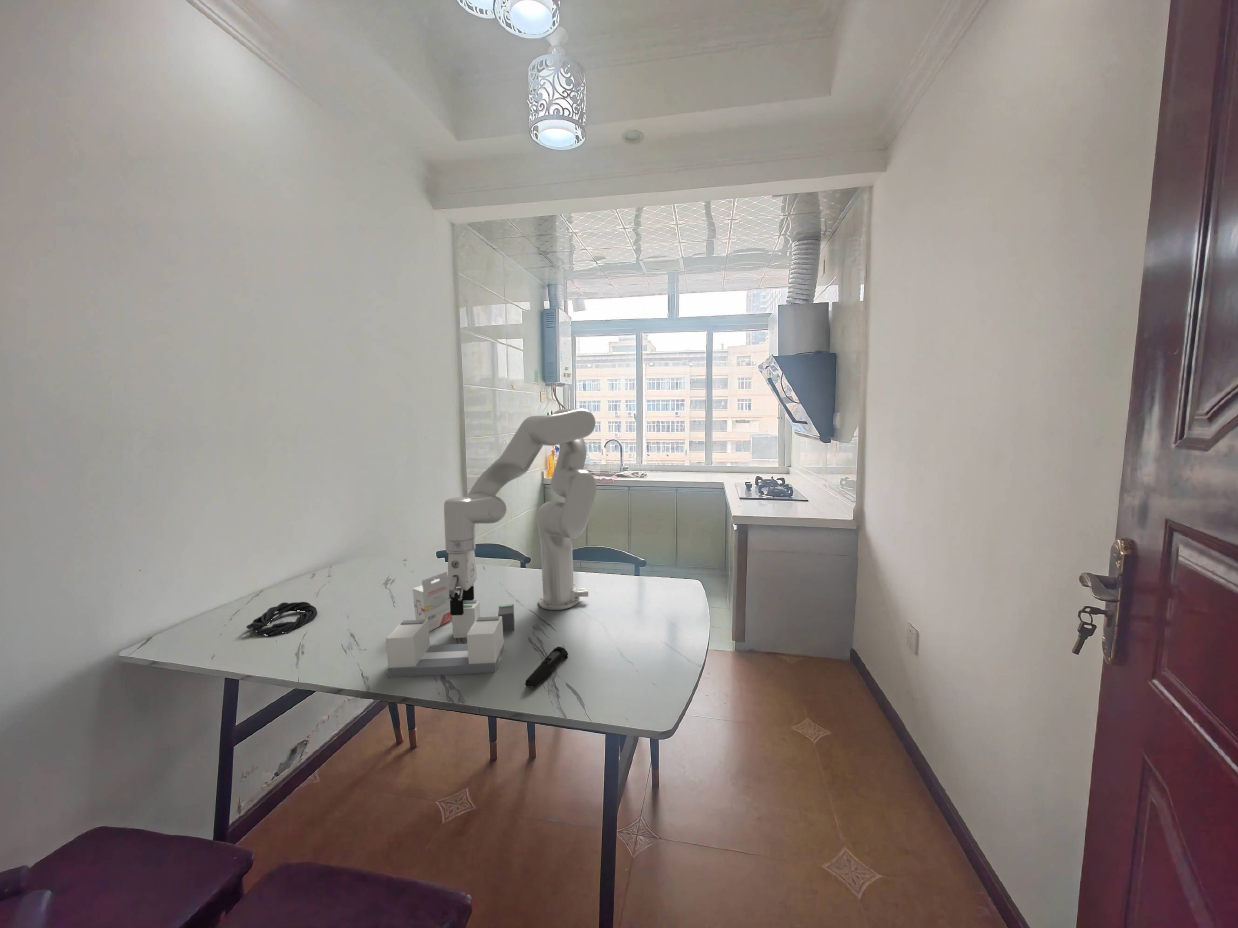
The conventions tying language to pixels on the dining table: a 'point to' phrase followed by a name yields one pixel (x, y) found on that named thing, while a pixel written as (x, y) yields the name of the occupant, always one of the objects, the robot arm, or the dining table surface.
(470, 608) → the block
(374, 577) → the dining table surface
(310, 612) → the cable
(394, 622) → the dining table surface
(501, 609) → the loose device
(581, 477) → the robot arm
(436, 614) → the ink cartridge box
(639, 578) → the dining table surface
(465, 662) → the rail board
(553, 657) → the electric trimmer
